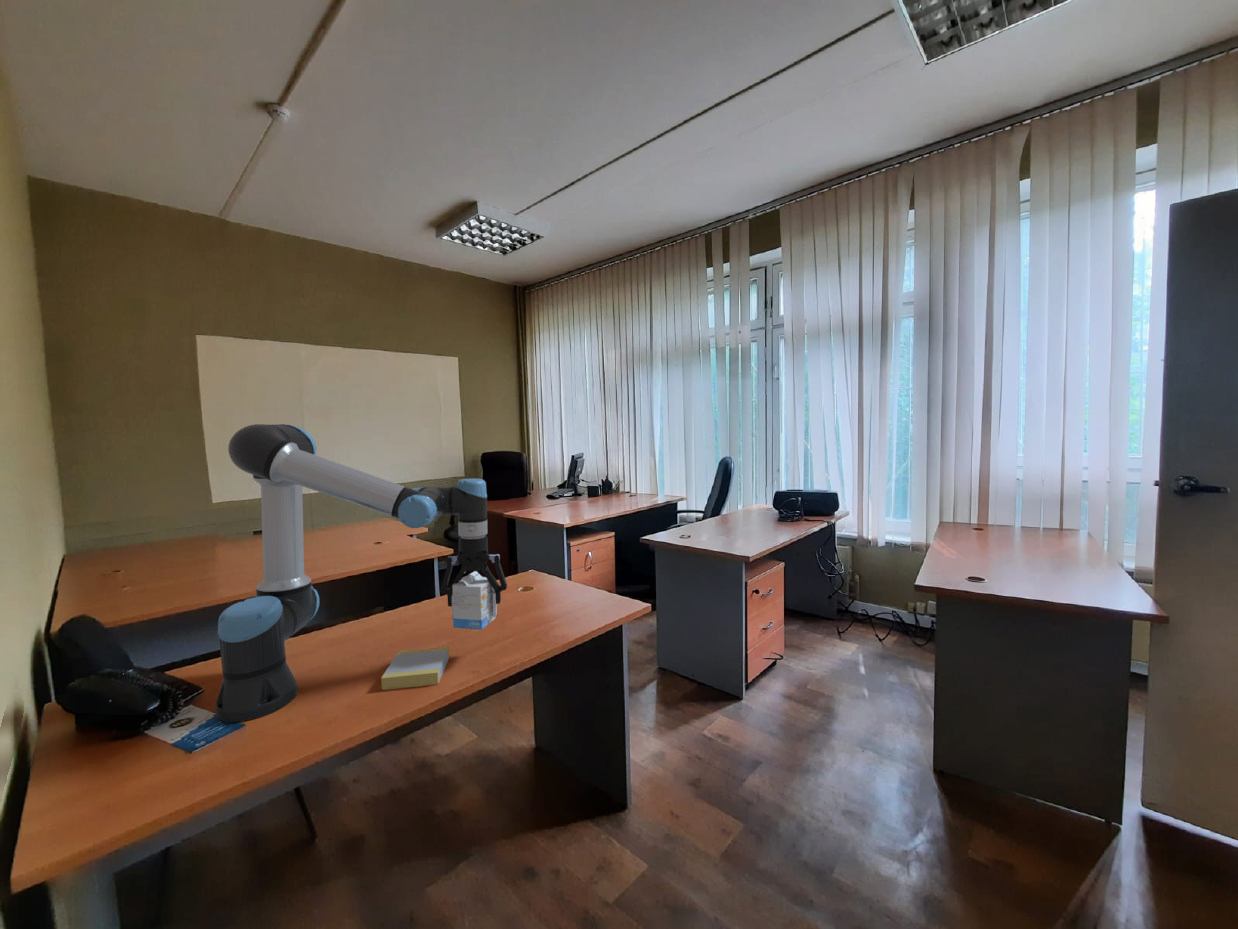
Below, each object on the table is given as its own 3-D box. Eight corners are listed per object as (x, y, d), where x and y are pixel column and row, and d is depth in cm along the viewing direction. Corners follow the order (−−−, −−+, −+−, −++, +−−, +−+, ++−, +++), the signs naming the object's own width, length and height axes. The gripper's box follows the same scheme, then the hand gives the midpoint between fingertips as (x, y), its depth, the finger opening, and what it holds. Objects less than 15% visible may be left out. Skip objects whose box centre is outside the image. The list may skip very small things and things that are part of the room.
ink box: (481, 630, 125) (480, 580, 124) (452, 627, 126) (451, 578, 125) (496, 617, 133) (495, 571, 132) (469, 615, 135) (467, 569, 134)
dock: (381, 690, 114) (381, 678, 114) (399, 662, 128) (398, 651, 128) (438, 684, 116) (437, 672, 116) (449, 657, 130) (448, 646, 130)
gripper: (425, 540, 122) (428, 624, 124) (515, 537, 126) (516, 619, 127) (432, 534, 130) (434, 613, 131) (516, 531, 133) (517, 608, 135)
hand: (474, 616), depth 129 cm, fingers closed on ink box, 10 cm apart
